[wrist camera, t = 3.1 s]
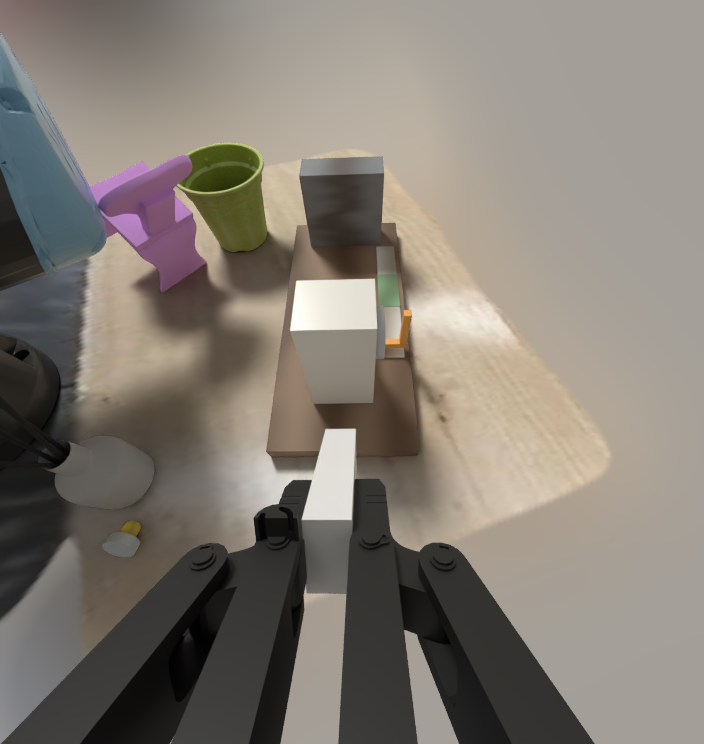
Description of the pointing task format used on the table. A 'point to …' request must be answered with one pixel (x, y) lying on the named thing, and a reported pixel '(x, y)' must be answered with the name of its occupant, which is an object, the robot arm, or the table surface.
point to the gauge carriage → (338, 338)
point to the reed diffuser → (92, 475)
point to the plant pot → (228, 193)
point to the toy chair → (152, 216)
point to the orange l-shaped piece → (401, 332)
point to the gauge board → (380, 262)
